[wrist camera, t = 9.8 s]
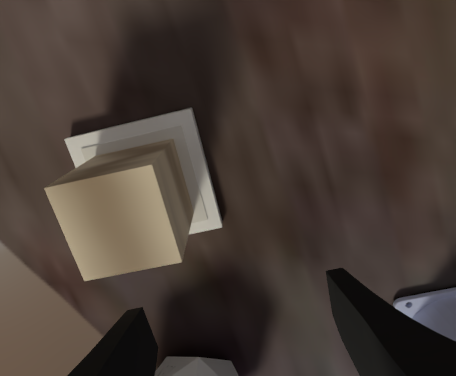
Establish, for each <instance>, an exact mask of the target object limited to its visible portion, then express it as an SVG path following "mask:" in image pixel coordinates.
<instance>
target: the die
mask: <svg viewBox="0 0 456 376" xmlns="http://www.w3.org/2000/svg"><path fill="white" fill-rule="evenodd" d="M155 376H239V375H238V373H237V371H236V369H235V367H234V366H233V364H232V362H231V361H229V360H220V359H211V358H203V357H166V358H165V360H164V361H163V362H162V364H161V365H160V366H159V367H158V369H157V370H156V371H155Z"/></svg>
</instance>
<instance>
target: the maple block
mask: <svg viewBox="0 0 456 376" xmlns="http://www.w3.org/2000/svg"><path fill="white" fill-rule="evenodd" d="M44 189H45V191H46V194H47V196H48V198H49V201H50V203H51V205H52V208H53V210H54V212H55V215H56V217H57V219H58V221H59V224H60V226H61V228H62V231H63V233H64V235H65V238H66V240H67V242H68V245H69V247H70V249H71V252H72V254H73V256H74V258H75V261H76V263H77V265H78V268H79V270H80V272H81V275H82V277H83V279H84V281H88V280H93V279H98V278H103V277H108V276H114V275H119V274H124V273H129V272H134V271H139V270H144V269H149V268H155V267H160V266H165V265H170V264H175V263H180V262H182V260H183V256H184V252H185V248H186V243H187V239H188V235H189V231H190V227H191V223H192V218H193V214H194V211H193V207H192V204H191V200H190V196H189V193H188V189H187V186H186V182H185V178H184V175H183V171H182V168H181V164H180V161H179V157H178V153H177V150H176V146H175V143H174V139H169V140H164V141H160V142H155V143H151V144H146V145H142V146H137V147H133V148H129V149H124V150H120V151H115V152H111V153H106V154H102V155H97V156H94V157H93V158H91V159H90V160H88V161H86V162H85V163H83V164H82V165H80V166H78V167H77V168H75V169H74V170H72V171H71V172H69V173H67V174H66V175H64V176H63V177H61V178H59V179H58V180H56V181H55V182H53V183H51V184H50V185H48V186H47V187H45V188H44Z"/></svg>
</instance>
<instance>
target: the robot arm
mask: <svg viewBox="0 0 456 376" xmlns="http://www.w3.org/2000/svg"><path fill="white" fill-rule="evenodd" d="M326 276H327V282H328V288H329V295H330V301H331V308H332V314H333V317H334V320H335V323H336V325H337V328H338V331H339V333H340V336H341V339H342V341H343V343H344V345H345V347H346V349H347V351H348V353H349V355H350V357H351V359H352V361H353V363H354V365H355V367H356V369H357V371H358V373H359V375H360V376H456V287H454V288H449V289H444V290H439V291H433V292H428V293H423V294H417V295H412V296H407V297H401V298H398V299H396V300H395V301H394V302H393V306H392V305H390V304H389V303H387V302H386V301H384V300H383V299H382V298H380V297H379V296H378V295H376V294H375V293H373V292H372V291H371V290H369V289H368V288H367V287H366V286H364V285H363V284H362V283H360V282H359V281H358V280H357V279H356V278H354V277H353V276H352V275H351V274H350V273H348V272H347V271H346V270H345V269H343V268H338V269H333V270H328V271H326ZM408 302H409V303H408ZM406 303H408V304H406ZM157 353H158V346H157V343H156V341H155V338H154V336H153V333H152V330H151V328H150V325H149V323H148V320H147V318H146V315H145V313H144V310H143V307H141V308H136V309H131V310H127V311H126V312H125V313H124V314H123V316H122V317H121V318H120V319H119V320H118V321H117V322H116V323H115V324H114V326H113V327H112V328H111V329H110V330H109V331H108V332H107V334H106V335H105V336H104V337H103V338H102V339H101V340H100V341H99V343H98V344H97V345H96V346H95V347H94V348H93V349H92V350H91V352H90V353H89V354H88V355H87V356H86V357H85V358H84V359H83V360H82V361H81V362H80V363H79V364H78V365H77V366H76V367H75V368H74V369H73V370H72V371H71V372H70V374H69V375H68V376H155V369H156V362H157Z"/></svg>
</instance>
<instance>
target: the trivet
mask: <svg viewBox="0 0 456 376" xmlns="http://www.w3.org/2000/svg"><path fill="white" fill-rule="evenodd" d="M169 139H174V143H175V146H176V150H177V153H178V157H179V161H180V164H181V168H182V171H183V175H184V178H185V182H186V186H187V189H188V193H189V196H190V200H191V204H192V207H193V211H194V214H193V218H192V223H191V227H190V231H189V234H193V233H198V232H203V231H207V230H212V229H217V228H222V219H221V215H220V211H219V207H218V203H217V200H216V196H215V192H214V188H213V184H212V181H211V177H210V173H209V169H208V165H207V162H206V158H205V154H204V150H203V146H202V143H201V139H200V135H199V131H198V127H197V124H196V120H195V116H194V112H193V109H192V107H191V108H187V109H183V110H179V111H175V112H170V113H166V114H162V115H158V116H154V117H150V118H146V119H141V120H137V121H133V122H129V123H125V124H121V125H117V126H113V127H108V128H104V129H100V130H96V131H92V132H88V133H84V134H80V135H75V136H71V137H68V138H66V139H64V140H65V142H66V145H67V147H68V150H69V152H70V155H71V157H72V160H73V162H74V165H75V167H76V168H77V167H78V166H80V165H82V164H83V163H85V162H86V161H88V160H90V159H91V158H93V157H94V156H97V155H102V154H106V153H111V152H115V151H120V150H124V149H129V148H133V147H137V146H142V145H146V144H151V143H155V142H160V141H164V140H169Z"/></svg>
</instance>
